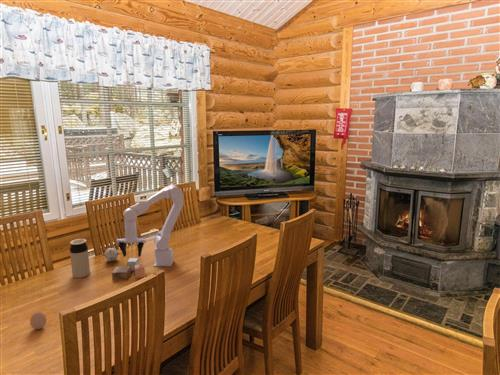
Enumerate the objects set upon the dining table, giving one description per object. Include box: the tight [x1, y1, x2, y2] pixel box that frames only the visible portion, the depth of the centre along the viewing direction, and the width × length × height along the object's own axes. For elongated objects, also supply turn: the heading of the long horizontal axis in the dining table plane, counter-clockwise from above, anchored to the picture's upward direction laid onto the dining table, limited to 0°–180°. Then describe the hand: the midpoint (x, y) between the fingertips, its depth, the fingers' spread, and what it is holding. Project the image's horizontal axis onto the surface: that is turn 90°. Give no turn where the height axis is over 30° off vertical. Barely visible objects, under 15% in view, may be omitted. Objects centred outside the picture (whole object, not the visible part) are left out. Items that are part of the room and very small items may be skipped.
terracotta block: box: [134, 263, 146, 279], centre depth 170 cm, size 4×4×5 cm
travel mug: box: [69, 238, 91, 279], centre depth 168 cm, size 8×8×18 cm
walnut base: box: [111, 265, 132, 281], centre depth 168 cm, size 7×7×4 cm
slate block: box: [126, 257, 139, 271], centre depth 177 cm, size 4×4×5 cm
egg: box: [29, 310, 47, 330], centre depth 125 cm, size 5×5×7 cm
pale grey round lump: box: [102, 246, 120, 263], centre depth 186 cm, size 9×8×10 cm
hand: (132, 256), depth 176 cm, fingers open, 7 cm apart
